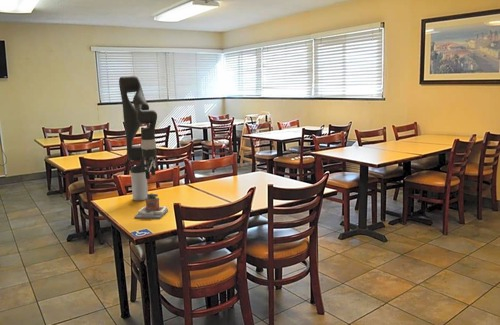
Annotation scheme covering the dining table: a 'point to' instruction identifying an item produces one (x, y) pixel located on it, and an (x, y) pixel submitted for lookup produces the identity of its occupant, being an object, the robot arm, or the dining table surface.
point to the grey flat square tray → (151, 213)
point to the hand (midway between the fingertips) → (150, 177)
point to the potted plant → (152, 202)
